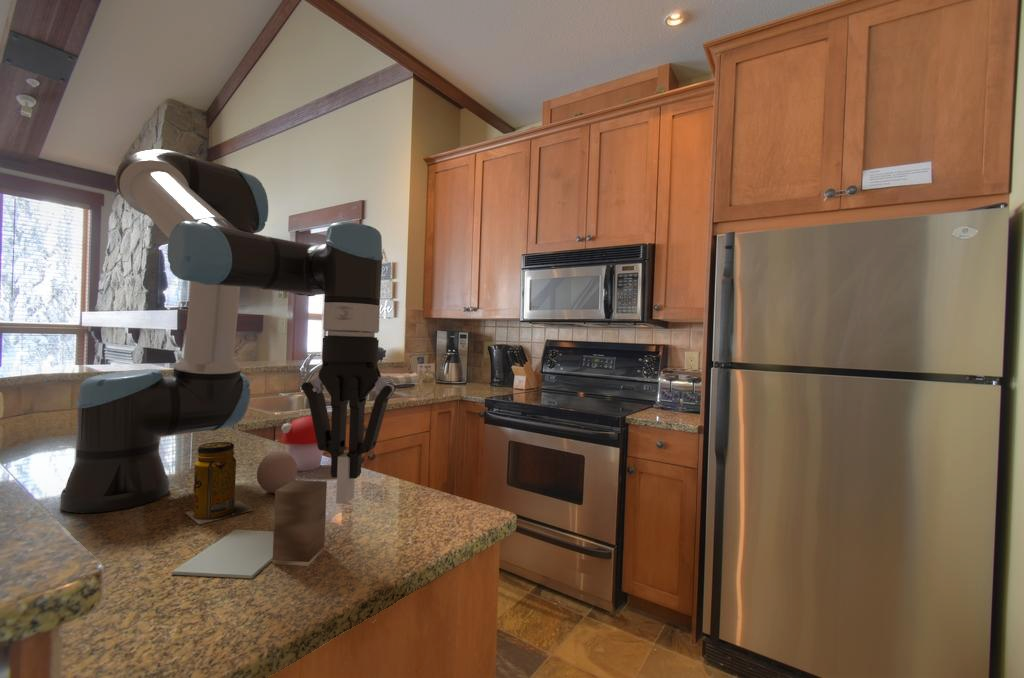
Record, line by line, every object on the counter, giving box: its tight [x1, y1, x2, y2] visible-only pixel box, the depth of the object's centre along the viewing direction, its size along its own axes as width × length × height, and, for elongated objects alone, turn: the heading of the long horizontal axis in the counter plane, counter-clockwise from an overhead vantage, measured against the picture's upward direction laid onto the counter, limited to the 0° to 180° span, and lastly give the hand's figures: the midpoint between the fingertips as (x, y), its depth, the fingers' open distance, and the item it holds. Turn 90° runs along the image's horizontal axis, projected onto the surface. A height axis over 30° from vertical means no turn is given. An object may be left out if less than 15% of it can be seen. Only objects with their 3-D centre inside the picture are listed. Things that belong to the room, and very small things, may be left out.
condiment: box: [185, 441, 255, 525], centre depth 80 cm, size 7×8×12 cm
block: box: [272, 479, 328, 567], centre depth 66 cm, size 5×5×10 cm
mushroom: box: [280, 415, 324, 472], centre depth 109 cm, size 11×11×12 cm
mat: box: [171, 529, 274, 579], centre depth 66 cm, size 10×13×1 cm
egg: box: [256, 449, 298, 494], centre depth 91 cm, size 7×7×8 cm
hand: (345, 500), depth 65 cm, fingers closed
